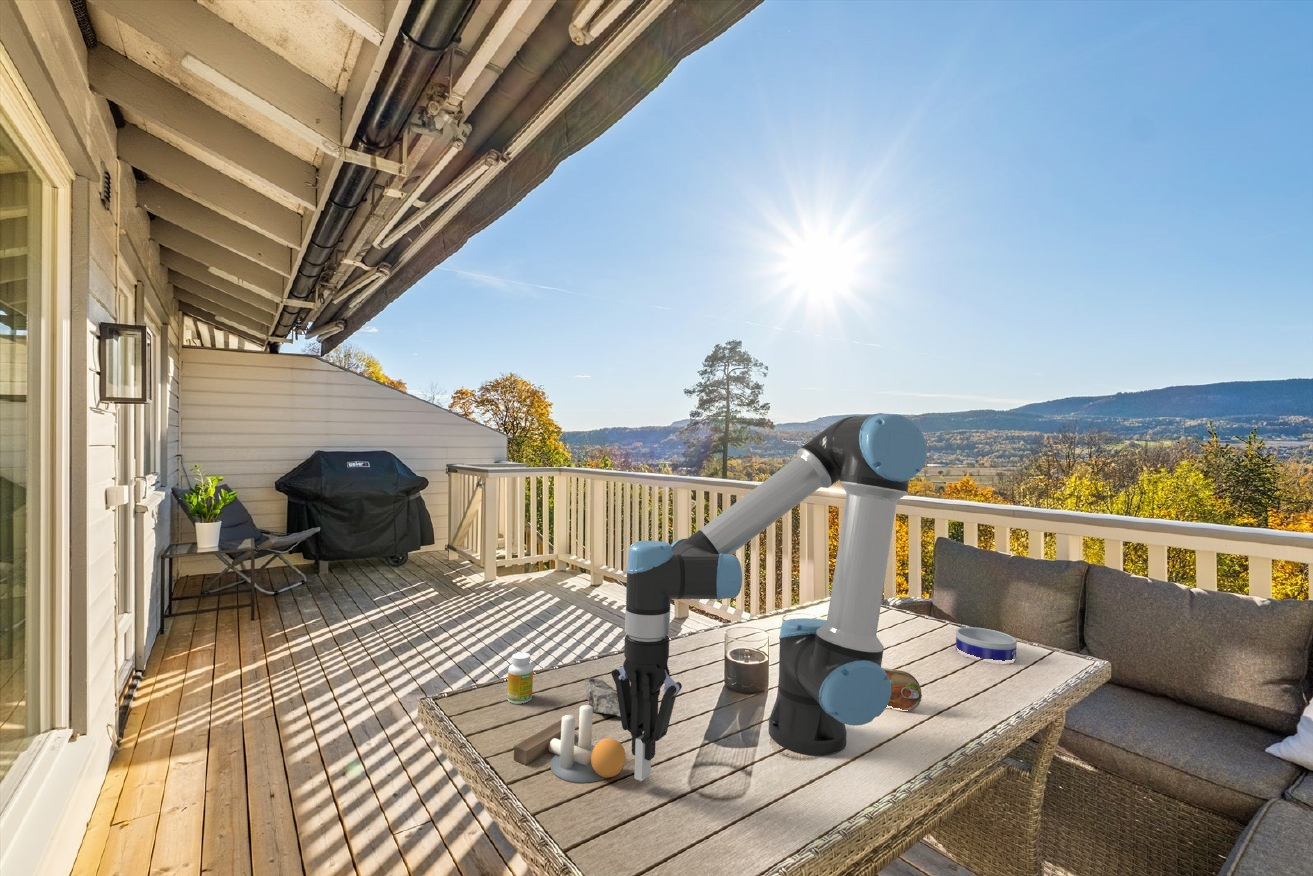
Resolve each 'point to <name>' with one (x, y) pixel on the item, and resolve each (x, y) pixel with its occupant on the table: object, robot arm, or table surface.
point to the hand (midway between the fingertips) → (642, 776)
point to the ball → (608, 757)
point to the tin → (903, 690)
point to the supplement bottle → (520, 679)
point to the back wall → (536, 744)
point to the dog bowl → (986, 643)
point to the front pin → (579, 753)
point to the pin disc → (575, 771)
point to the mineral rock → (601, 697)
